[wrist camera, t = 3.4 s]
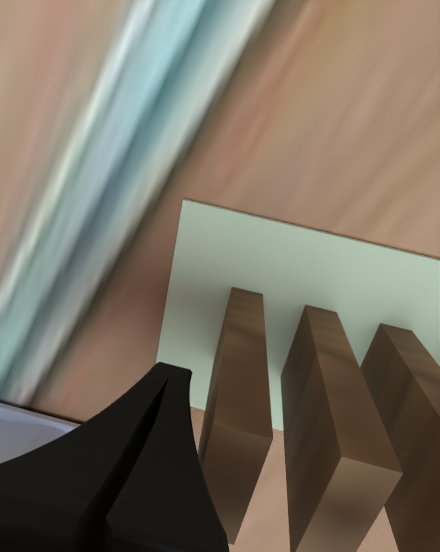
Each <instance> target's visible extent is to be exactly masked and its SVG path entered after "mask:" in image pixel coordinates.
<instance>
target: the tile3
mask: <svg viewBox="0 0 440 552" xmlns="http://www.w3.org/2000/svg"><path fill="white" fill-rule="evenodd" d="M360 370H361V372H362V374H363V377H364V379H365V382H366V384H367V387H368V389H369V391H370V394H371V396H372V399H373V401H374V403H375V406H376V408H377V411H378V413H379V416H380V418H381V420H382V423H383V425H384V428H385V430H386V432H387V435H388V437H389V440H390V442H391V445H392V447H393V449H394V452H395V454H396V457H397V459H398V461H399V464H400V466H401V469H402V471H403V475H402V476H401V478H400V480H399V481H398V483H397V484H396V486H395V488H394V489H393V491H392V493H391V494H390V496H389V498H388V499H387V501H386V503H385V504H384V507H385V510H386V513H387V516H388V519H389V522H390V525H391V528H392V532H393V535H394V538H395V541H396V544H397V547H398V550H399V552H440V366H439V365H438V364H437V362H436V361H435V360H434V358H433V357H432V356H431V355H430V353H429V352H428V351H427V349H426V348H425V347H424V345H423V344H422V343H421V342H420V340H419V339H418V338H417V336H416V335H415V334H414V333H413V331H411V330H407V329H403V328H399V327H395V326H391V325H387V324H383V323H380V324H379V327H378V329H377V331H376V333H375V335H374V338H373V340H372V342H371V344H370V346H369V349H368V351H367V353H366V355H365V357H364V360H363V362H362V364H361V366H360Z"/></svg>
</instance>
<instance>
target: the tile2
mask: <svg viewBox="0 0 440 552" xmlns="http://www.w3.org/2000/svg"><path fill="white" fill-rule="evenodd" d="M280 379H281V396H282V413H283V431H284V448H285V465H286V482H287V500H288V517H289V534H290V551H291V552H356V551H357V549H358V548H359V546H360V544H361V543H362V541H363V539H364V538H365V536H366V534H367V533H368V531H369V529H370V528H371V526H372V524H373V523H374V521H375V519H376V518H377V516H378V514H379V513H380V511H381V509H382V508H383V506H384V504H385V503H386V501H387V499H388V498H389V496H390V494H391V493H392V491H393V489H394V488H395V486H396V484H397V483H398V481H399V480H400V478H401V476H402V475H403V471H402V469H401V466H400V464H399V461H398V459H397V457H396V454H395V452H394V449H393V447H392V445H391V442H390V440H389V437H388V435H387V432H386V430H385V428H384V425H383V423H382V420H381V418H380V416H379V413H378V411H377V408H376V406H375V403H374V401H373V399H372V396H371V394H370V391H369V389H368V387H367V384H366V382H365V379H364V377H363V374H362V372H361V370H360V367H359V365H358V362H357V360H356V358H355V355H354V353H353V350H352V348H351V345H350V343H349V341H348V338H347V336H346V333H345V331H344V329H343V326H342V324H341V321H340V319H339V316H338V314H337V312H334V311H330V310H326V309H322V308H318V307H314V306H310V305H306V304H305V307H304V310H303V313H302V316H301V319H300V321H299V324H298V327H297V330H296V333H295V336H294V339H293V342H292V345H291V347H290V350H289V353H288V356H287V359H286V362H285V365H284V368H283V370H282V373H281V376H280Z"/></svg>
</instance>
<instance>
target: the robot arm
mask: <svg viewBox="0 0 440 552" xmlns="http://www.w3.org/2000/svg"><path fill="white" fill-rule="evenodd" d="M191 377H192V371H191V370H190V369H187V368H183V367H179V366H175V365H171V364H167V363H163V362H158V363H156V364H155V365H154V366H153V368H152V369H151V370H150V371H149V372H148V373H147V374H146V375H145V376H144V377H143V378H142V379H140V380H139V381H138V382H137V383H136V384H135V385H134V386H133V387H132V388H130V389H129V390H128V391H127V392H126V393H125V394H123V395H122V396H121V397H120V398H118V399H117V400H116V401H115V402H113V403H112V404H111V405H109V406H108V407H107V408H105V409H104V410H103V411H101V412H100V413H98V414H97V415H95V416H94V417H92V418H91V419H89V420H88V421H86V422H85V423H83V424H81V425H80V424H77V423H73V422H69V421H66V420H62V419H58V418H54V417H51V416H47V415H43V414H39V413H36V412H32V411H28V410H25V409H21V408H17V407H13V406H10V405H6V404H2V403H0V552H229V547H228V540H227V534H226V532H225V530H224V528H223V525H222V523H221V521H220V519H219V516H218V514H217V512H216V509H215V507H214V504H213V502H212V499H211V496H210V494H209V491H208V488H207V485H206V482H205V479H204V476H203V472H202V469H201V466H200V462H199V458H198V454H197V450H196V445H195V440H194V435H193V428H192V421H191V411H190V382H191Z"/></svg>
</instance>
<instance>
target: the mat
mask: <svg viewBox="0 0 440 552" xmlns="http://www.w3.org/2000/svg"><path fill="white" fill-rule="evenodd" d="M232 287H235V288H239V289H244V290H248V291H252V292H257V293H261V294H263V305H264V319H265V333H266V347H267V361H268V375H269V389H270V403H271V417H272V428H274V429H278V430H282V431H283V413H282V396H281V379H280V376H281V373H282V370H283V368H284V365H285V362H286V359H287V356H288V353H289V350H290V347H291V345H292V342H293V339H294V336H295V333H296V330H297V327H298V324H299V321H300V319H301V316H302V313H303V310H304V307H305V304H306V305H310V306H314V307H318V308H322V309H326V310H330V311H334V312H337V314H338V316H339V319H340V321H341V324H342V326H343V329H344V331H345V333H346V336H347V338H348V341H349V343H350V345H351V348H352V350H353V353H354V355H355V358H356V360H357V362H358V365H359V367H360V366H361V364H362V362H363V360H364V357H365V355H366V353H367V351H368V349H369V346H370V344H371V342H372V340H373V338H374V335H375V333H376V331H377V329H378V327H379V324H380V323H383V324H387V325H391V326H395V327H399V328H403V329H407V330H411V331H413V333H414V334H415V335H416V336H417V338H418V339H419V340H420V342H421V343H422V344H423V345H424V347H425V348H426V349H427V351H428V352H429V353H430V355H431V356H432V357H433V358H434V360H435V361H436V362H437V364H438V365H439V366H440V259H438V258H433V257H429V256H425V255H421V254H416V253H412V252H408V251H404V250H400V249H395V248H391V247H387V246H383V245H379V244H374V243H370V242H366V241H362V240H358V239H353V238H349V237H345V236H341V235H336V234H332V233H328V232H324V231H320V230H315V229H311V228H307V227H303V226H299V225H294V224H290V223H286V222H282V221H278V220H273V219H269V218H265V217H261V216H256V215H252V214H248V213H244V212H240V211H235V210H231V209H227V208H223V207H219V206H214V205H210V204H206V203H202V202H198V201H193V200H189V199H183V203H182V209H181V215H180V221H179V227H178V233H177V239H176V245H175V251H174V257H173V263H172V269H171V275H170V281H169V287H168V293H167V299H166V305H165V311H164V317H163V323H162V329H161V335H160V341H159V347H158V353H157V359H156V363H158V362H163V363H167V364H171V365H175V366H179V367H183V368H187V369H190V370H191V371H192V377H191V382H190V407H194V408H198V409H202V410H205V408H206V402H207V396H208V391H209V385H210V379H211V373H212V367H213V362H214V357H215V353H216V349H217V345H218V341H219V337H220V333H221V329H222V325H223V321H224V317H225V312H226V308H227V304H228V300H229V296H230V292H231V288H232Z"/></svg>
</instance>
